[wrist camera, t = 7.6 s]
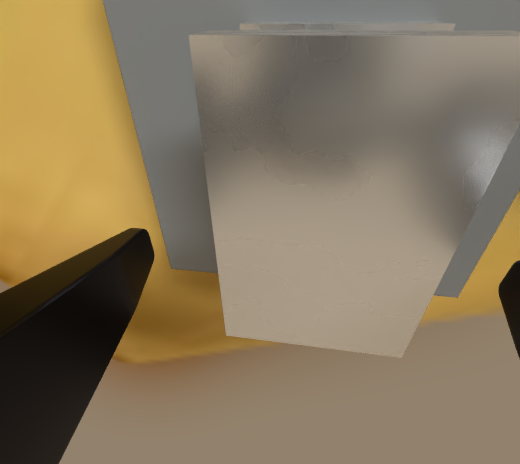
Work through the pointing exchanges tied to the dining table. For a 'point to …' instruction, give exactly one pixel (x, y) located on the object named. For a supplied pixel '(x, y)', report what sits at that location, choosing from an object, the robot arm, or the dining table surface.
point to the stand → (187, 119)
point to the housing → (347, 169)
